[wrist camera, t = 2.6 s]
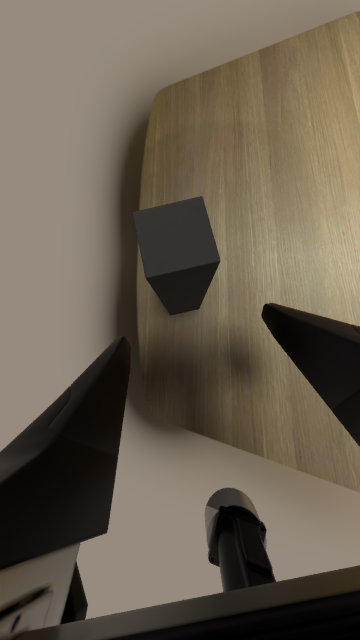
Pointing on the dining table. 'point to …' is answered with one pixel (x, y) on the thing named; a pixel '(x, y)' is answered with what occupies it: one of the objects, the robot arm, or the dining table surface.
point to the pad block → (178, 252)
